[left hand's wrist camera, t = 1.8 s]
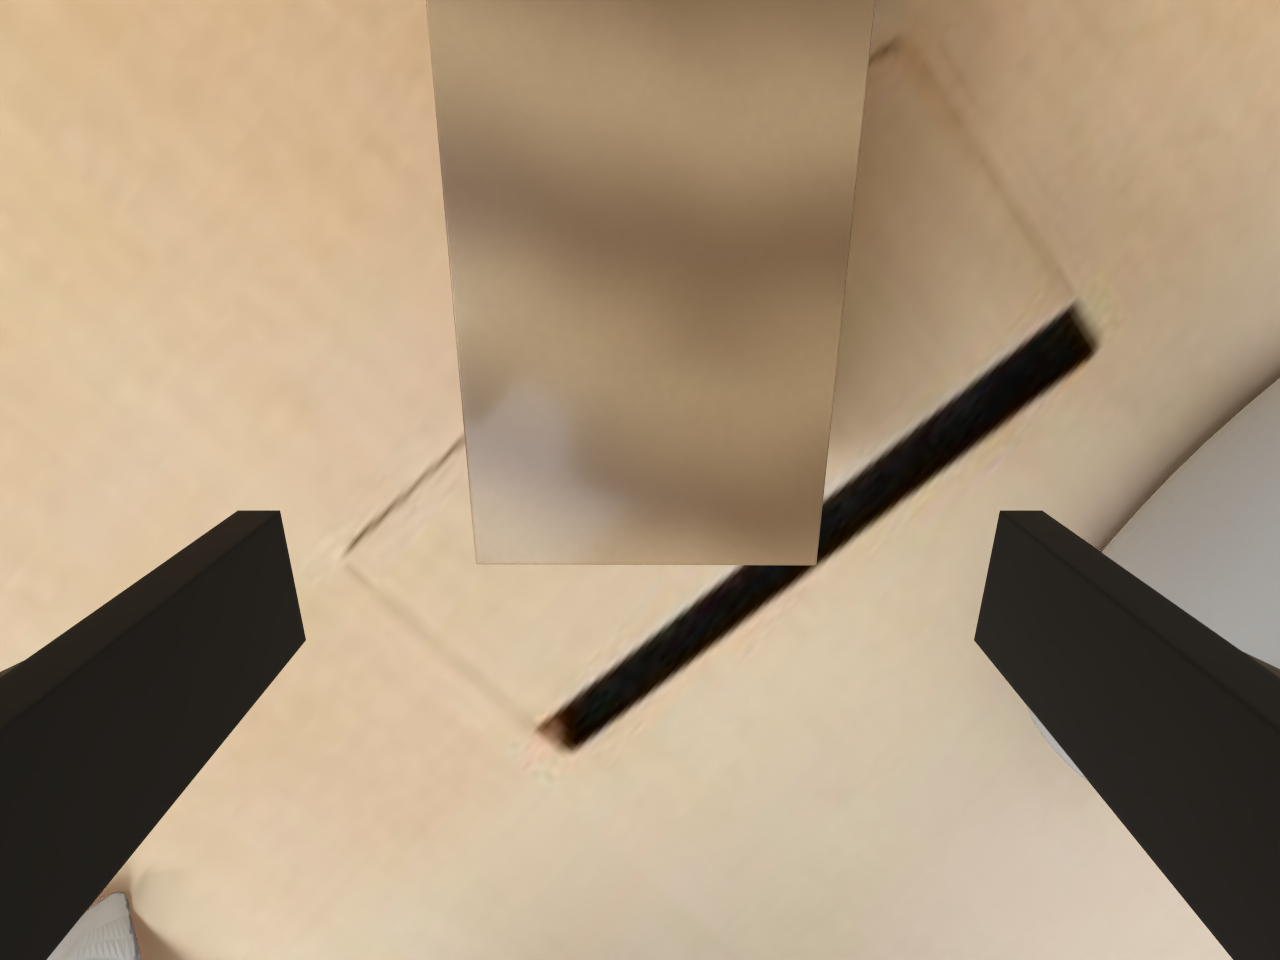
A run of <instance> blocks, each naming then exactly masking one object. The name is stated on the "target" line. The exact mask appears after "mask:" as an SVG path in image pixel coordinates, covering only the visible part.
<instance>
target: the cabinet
mask: <svg viewBox="0 0 1280 960" xmlns="http://www.w3.org/2000/svg"><path fill="white" fill-rule="evenodd" d="M426 5H427V16H428V28H429V39H430V50H431V61H432V73H433V84H434V95H435V106H436V118H437V129H438V140H439V151H440V163H441V174H442V185H443V196H444V208H445V219H446V230H447V241H448V253H449V264H450V275H451V286H452V298H453V309H454V320H455V331H456V343H457V354H458V365H459V376H460V388H461V399H462V410H463V421H464V433H465V444H466V455H467V466H468V478H469V489H470V500H471V511H472V523H473V534H474V545H475V556H476V563H477V564H600V565H816V561H817V552H818V542H819V533H820V523H821V513H822V504H823V494H824V485H825V475H826V465H827V456H828V446H829V437H830V427H831V417H832V408H833V398H834V389H835V379H836V369H837V360H838V350H839V341H840V331H841V321H842V312H843V302H844V293H845V283H846V273H847V264H848V254H849V245H850V235H851V225H852V216H853V206H854V197H855V187H856V177H857V168H858V158H859V149H860V139H861V129H862V120H863V110H864V101H865V91H866V81H867V72H868V62H869V53H870V43H871V33H872V24H873V14H874V5H875V0H426Z"/></svg>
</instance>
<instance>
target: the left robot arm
mask: <svg viewBox="0 0 1280 960" xmlns="http://www.w3.org/2000/svg"><path fill="white" fill-rule="evenodd" d="M305 641H306V639H305V634H304V629H303V624H302V619H301V613H300V608H299V603H298V598H297V593H296V588H295V583H294V578H293V573H292V568H291V563H290V558H289V553H288V548H287V543H286V538H285V533H284V528H283V523H282V518H281V513H280V511H237V512H235V513H234V514H232V515H231V516H230V517H228V518H227V519H225V520H224V521H223V522H221V523H220V524H218V525H217V526H215V527H214V528H213V529H211V530H210V531H208V532H207V533H205V534H204V535H203V536H201V537H200V538H198V539H197V540H195V541H194V542H193V543H191V544H190V545H188V546H187V547H186V548H184V549H183V550H181V551H180V552H178V553H177V554H176V555H174V556H173V557H171V558H170V559H168V560H167V561H166V562H164V563H163V564H161V565H160V566H159V567H157V568H156V569H154V570H153V571H151V572H150V573H149V574H147V575H146V576H144V577H143V578H141V579H140V580H139V581H137V582H136V583H134V584H133V585H131V586H130V587H129V588H127V589H126V590H124V591H123V592H122V593H120V594H119V595H117V596H116V597H114V598H113V599H112V600H110V601H109V602H107V603H106V604H104V605H103V606H102V607H100V608H99V609H97V610H96V611H94V612H93V613H92V614H90V615H89V616H87V617H86V618H85V619H83V620H82V621H80V622H79V623H77V624H76V625H75V626H73V627H72V628H70V629H69V630H67V631H66V632H65V633H63V634H62V635H60V636H59V637H58V638H56V639H55V640H53V641H52V642H50V643H49V644H48V645H46V646H45V647H43V648H42V649H40V650H39V651H38V652H36V653H35V654H33V655H32V656H30V657H29V658H28V659H26V660H25V661H22V662H20V663H18V664H16V665H14V666H12V667H10V668H8V669H6V670H4V671H2V672H0V960H47V959H48V957H49V956H50V955H51V954H52V952H53V951H54V950H55V949H56V948H57V946H58V945H59V944H60V943H61V941H62V940H63V939H64V938H65V936H66V935H67V934H68V933H69V932H70V930H71V929H72V928H73V927H74V925H75V924H76V923H77V922H78V920H79V919H80V918H81V917H82V915H83V914H84V913H85V912H86V911H87V909H88V908H89V907H90V906H91V904H92V903H93V902H94V901H95V899H96V898H97V897H98V896H99V895H100V893H101V892H102V891H103V890H104V888H105V887H106V886H107V885H108V883H109V882H110V881H111V880H112V878H113V877H114V876H115V875H116V874H117V872H118V871H119V870H120V869H121V867H122V866H123V865H124V864H125V862H126V861H127V860H128V859H129V858H130V856H131V855H132V854H133V853H134V851H135V850H136V849H137V848H138V846H139V845H140V844H141V843H142V842H143V840H144V839H145V838H146V837H147V835H148V834H149V833H150V832H151V830H152V829H153V828H154V827H155V825H156V824H157V823H158V822H159V821H160V819H161V818H162V817H163V816H164V814H165V813H166V812H167V811H168V809H169V808H170V807H171V806H172V805H173V803H174V802H175V801H176V800H177V798H178V797H179V796H180V795H181V793H182V792H183V791H184V790H185V788H186V787H187V786H188V785H189V784H190V782H191V781H192V780H193V779H194V777H195V776H196V775H197V774H198V772H199V771H200V770H201V769H202V768H203V766H204V765H205V764H206V763H207V761H208V760H209V759H210V758H211V756H212V755H213V754H214V753H215V751H216V750H217V749H218V748H219V747H220V745H221V744H222V743H223V742H224V740H225V739H226V738H227V737H228V735H229V734H230V733H231V732H232V731H233V729H234V728H235V727H236V726H237V724H238V723H239V722H240V721H241V719H242V718H243V717H244V716H245V714H246V713H247V712H248V711H249V710H250V708H251V707H252V706H253V705H254V703H255V702H256V701H257V700H258V698H259V697H260V696H261V695H262V694H263V692H264V691H265V690H266V689H267V687H268V686H269V685H270V684H271V682H272V681H273V680H274V679H275V677H276V676H277V675H278V674H279V673H280V671H281V670H282V669H283V668H284V666H285V665H286V664H287V663H288V661H289V660H290V659H291V658H292V657H293V655H294V654H295V653H296V652H297V650H298V649H299V648H300V647H301V645H302V644H303V643H304V642H305ZM974 641H975V642H976V643H977V644H978V645H979V647H980V648H981V649H982V650H983V652H984V653H985V654H986V655H987V657H988V658H989V659H990V660H991V661H992V663H993V664H994V665H995V666H996V668H997V669H998V670H999V671H1000V673H1001V674H1002V675H1003V676H1004V677H1005V679H1006V680H1007V681H1008V682H1009V684H1010V685H1011V686H1012V687H1013V689H1014V690H1015V691H1016V692H1017V694H1018V695H1019V696H1020V697H1021V698H1022V700H1023V701H1024V702H1025V703H1026V705H1027V706H1028V707H1029V708H1030V710H1031V711H1032V712H1033V713H1034V714H1035V716H1036V717H1037V718H1038V719H1039V721H1040V722H1041V723H1042V724H1043V726H1044V727H1045V728H1046V729H1047V731H1048V732H1049V733H1050V734H1051V735H1052V737H1053V738H1054V739H1055V740H1056V742H1057V743H1058V744H1059V745H1060V747H1061V748H1062V749H1063V750H1064V751H1065V753H1066V754H1067V755H1068V756H1069V758H1070V759H1071V760H1072V761H1073V763H1074V764H1075V765H1076V766H1077V768H1078V769H1079V770H1080V771H1081V772H1082V774H1083V775H1084V776H1085V777H1086V779H1087V780H1088V781H1089V782H1090V784H1091V785H1092V786H1093V787H1094V788H1095V790H1096V791H1097V792H1098V793H1099V795H1100V796H1101V797H1102V798H1103V800H1104V801H1105V802H1106V803H1107V805H1108V806H1109V807H1110V808H1111V809H1112V811H1113V812H1114V813H1115V814H1116V816H1117V817H1118V818H1119V819H1120V821H1121V822H1122V823H1123V824H1124V825H1125V827H1126V828H1127V829H1128V830H1129V832H1130V833H1131V834H1132V835H1133V837H1134V838H1135V839H1136V840H1137V842H1138V843H1139V844H1140V845H1141V846H1142V848H1143V849H1144V850H1145V851H1146V853H1147V854H1148V855H1149V856H1150V858H1151V859H1152V860H1153V861H1154V862H1155V864H1156V865H1157V866H1158V867H1159V869H1160V870H1161V871H1162V872H1163V874H1164V875H1165V876H1166V877H1167V878H1168V880H1169V881H1170V882H1171V883H1172V885H1173V886H1174V887H1175V888H1176V890H1177V891H1178V892H1179V893H1180V895H1181V896H1182V897H1183V898H1184V899H1185V901H1186V902H1187V903H1188V904H1189V906H1190V907H1191V908H1192V909H1193V911H1194V912H1195V913H1196V914H1197V915H1198V917H1199V918H1200V919H1201V920H1202V922H1203V923H1204V924H1205V925H1206V927H1207V928H1208V929H1209V930H1210V932H1211V933H1212V934H1213V935H1214V936H1215V938H1216V939H1217V940H1218V941H1219V943H1220V944H1221V945H1222V946H1223V948H1224V949H1225V950H1226V951H1227V952H1228V954H1229V955H1230V956H1231V957H1232V959H1233V960H1280V669H1279V668H1277V667H1274V666H1272V665H1270V664H1268V663H1266V662H1264V661H1262V660H1260V659H1258V658H1255V657H1253V656H1251V655H1249V654H1247V653H1245V652H1243V651H1241V650H1240V649H1238V648H1237V647H1235V646H1234V645H1232V644H1231V643H1230V642H1228V641H1227V640H1225V639H1224V638H1222V637H1221V636H1220V635H1218V634H1217V633H1215V632H1214V631H1213V630H1211V629H1210V628H1208V627H1207V626H1205V625H1204V624H1203V623H1201V622H1200V621H1198V620H1197V619H1195V618H1194V617H1193V616H1191V615H1190V614H1188V613H1187V612H1186V611H1184V610H1183V609H1181V608H1180V607H1178V606H1177V605H1176V604H1174V603H1173V602H1171V601H1170V600H1168V599H1167V598H1166V597H1164V596H1163V595H1161V594H1160V593H1158V592H1157V591H1156V590H1154V589H1153V588H1151V587H1150V586H1149V585H1147V584H1146V583H1144V582H1143V581H1141V580H1140V579H1139V578H1137V577H1136V576H1134V575H1133V574H1131V573H1130V572H1129V571H1127V570H1126V569H1124V568H1123V567H1121V566H1120V565H1119V564H1117V563H1116V562H1114V561H1113V560H1112V559H1110V558H1109V557H1107V556H1106V555H1104V554H1103V553H1102V552H1100V551H1099V550H1097V549H1096V548H1094V547H1093V546H1092V545H1090V544H1089V543H1087V542H1086V541H1085V540H1083V539H1082V538H1080V537H1079V536H1077V535H1076V534H1075V533H1073V532H1072V531H1070V530H1069V529H1067V528H1066V527H1065V526H1063V525H1062V524H1060V523H1059V522H1057V521H1056V520H1055V519H1053V518H1052V517H1050V516H1049V515H1048V514H1046V513H1045V512H1043V511H1000V513H999V518H998V523H997V528H996V533H995V538H994V543H993V548H992V553H991V558H990V563H989V568H988V573H987V578H986V583H985V588H984V593H983V598H982V603H981V609H980V614H979V618H978V624H977V629H976V634H975V639H974Z"/></svg>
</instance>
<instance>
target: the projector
mask: <svg viewBox="0 0 1280 960" xmlns="http://www.w3.org/2000/svg"><path fill="white" fill-rule="evenodd" d="M1102 553H1103V554H1104V555H1106V556H1107V557H1109V558H1110V559H1112V560H1113V561H1114V562H1116V563H1117V564H1119V565H1120V566H1121V567H1123V568H1124V569H1126V570H1127V571H1129V572H1130V573H1131V574H1133V575H1134V576H1136V577H1137V578H1139V579H1140V580H1141V581H1143V582H1144V583H1146V584H1147V585H1149V586H1150V587H1151V588H1153V589H1154V590H1156V591H1157V592H1158V593H1160V594H1161V595H1163V596H1164V597H1166V598H1167V599H1168V600H1170V601H1171V602H1173V603H1174V604H1176V605H1177V606H1178V607H1180V608H1181V609H1183V610H1184V611H1186V612H1187V613H1188V614H1190V615H1191V616H1193V617H1194V618H1195V619H1197V620H1198V621H1200V622H1201V623H1203V624H1204V625H1205V626H1207V627H1208V628H1210V629H1211V630H1213V631H1214V632H1215V633H1217V634H1218V635H1220V636H1221V637H1222V638H1224V639H1225V640H1227V641H1228V642H1230V643H1231V644H1232V645H1234V646H1235V647H1237V648H1238V649H1240V650H1241V651H1243V652H1245V653H1247V654H1249V655H1251V656H1253V657H1255V658H1258V659H1260V660H1262V661H1264V662H1266V663H1268V664H1270V665H1272V666H1274V667H1277V668H1279V669H1280V378H1279V379H1278V380H1276V381H1275V382H1274V383H1273V384H1272V385H1270V386H1269V387H1268V388H1267V389H1266V390H1264V391H1263V392H1262V393H1261V394H1260V395H1259V396H1257V397H1256V398H1255V399H1254V400H1253V401H1251V402H1250V403H1249V404H1248V405H1247V406H1245V407H1244V408H1243V409H1242V410H1241V411H1240V412H1238V413H1237V414H1236V415H1235V416H1234V417H1233V418H1232V419H1231V420H1230V421H1228V422H1227V423H1226V424H1225V425H1224V426H1223V427H1222V428H1221V429H1220V430H1218V431H1217V432H1216V433H1215V434H1214V435H1213V436H1212V437H1211V438H1210V439H1208V440H1207V441H1206V442H1205V443H1204V444H1203V445H1202V446H1201V447H1200V448H1199V449H1198V450H1197V451H1196V452H1195V453H1194V454H1193V455H1192V456H1191V457H1190V458H1189V459H1188V460H1187V461H1186V462H1184V463H1183V464H1182V465H1181V466H1180V467H1179V468H1178V469H1177V470H1176V471H1175V472H1174V473H1173V474H1172V475H1171V476H1170V477H1169V478H1168V479H1167V480H1166V481H1165V482H1164V483H1163V485H1162V486H1161V487H1160V488H1159V489H1158V490H1157V491H1156V492H1155V493H1154V494H1153V495H1152V496H1151V497H1150V498H1149V499H1148V500H1147V501H1146V502H1145V503H1144V504H1143V505H1142V507H1141V508H1140V509H1139V510H1138V511H1137V512H1136V513H1135V514H1134V515H1133V517H1132V518H1131V519H1130V520H1129V521H1128V522H1127V523H1126V524H1125V526H1124V527H1123V528H1122V529H1121V530H1120V531H1119V532H1118V533H1117V535H1116V536H1115V537H1114V538H1113V539H1112V540H1111V541H1110V543H1109V544H1108V545H1107V546H1106V547H1105V549H1104V550H1103V551H1102ZM1028 709H1029V711H1030V714H1031V716H1032V719H1033V721H1034V723H1035V725H1036V726H1037V728H1038V730H1039V731H1040V733H1041V734H1042V735H1043V737H1044V738H1045V739H1046V741H1047V742H1048V743H1049V744H1050V746H1051V747H1052V748H1053V749H1054V750H1055V751H1056V752H1057V753H1058V754H1059V756H1060V757H1061V758H1062V759H1063V760H1064V761H1065V762H1066V763H1067V764H1068V765H1069V766H1071V767H1072V768H1073V769H1074V770H1075V771H1076V772H1077V773H1078V774H1080V775H1081V776H1082V777H1084V778H1085V779H1086V777H1085V776H1084V775H1083V774H1082V772H1081V771H1080V770H1079V769H1078V768H1077V766H1076V765H1075V764H1074V763H1073V761H1072V760H1071V759H1070V758H1069V756H1068V755H1067V754H1066V753H1065V751H1064V750H1063V749H1062V748H1061V747H1060V745H1059V744H1058V743H1057V742H1056V740H1055V739H1054V738H1053V737H1052V735H1051V734H1050V733H1049V732H1048V731H1047V729H1046V728H1045V727H1044V726H1043V724H1042V723H1041V722H1040V721H1039V719H1038V718H1037V717H1036V716H1035V714H1034V713H1033V712H1032V711H1031V710H1030V708H1029V707H1028ZM1086 780H1087V779H1086Z"/></svg>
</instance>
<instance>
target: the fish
mask: <svg viewBox="0 0 1280 960" xmlns="http://www.w3.org/2000/svg"><path fill="white" fill-rule="evenodd" d="M47 960H141V957H140V953H139V948H138V943H137V939H136V935H135V931H134V928H133V924H132V920H131V916H130V911H129V904H128V900H127V898H126V896H125V894H124V893H121V892H114V893H112V894H110V895H109V896H107V897H106V898H104V899H103V900H101V901H100V902H98V903H97V904H95V905H93V906H92V907H91V908H90V909H88V910H87V911H86V912H85V913H84V914H83V915H82V917H81V918H80V919H79V920H78V922H77V923H76V924H75V925H74V927H73V928H72V929H71V930H70V932H69V933H68V934H67V935H66V936H65V938H64V939H63V940H62V941H61V943H60V944H59V945H58V946H57V948H56V949H55V950H54V951H53V952H52V954H51V955H50V956H49V957H48V959H47Z"/></svg>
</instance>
